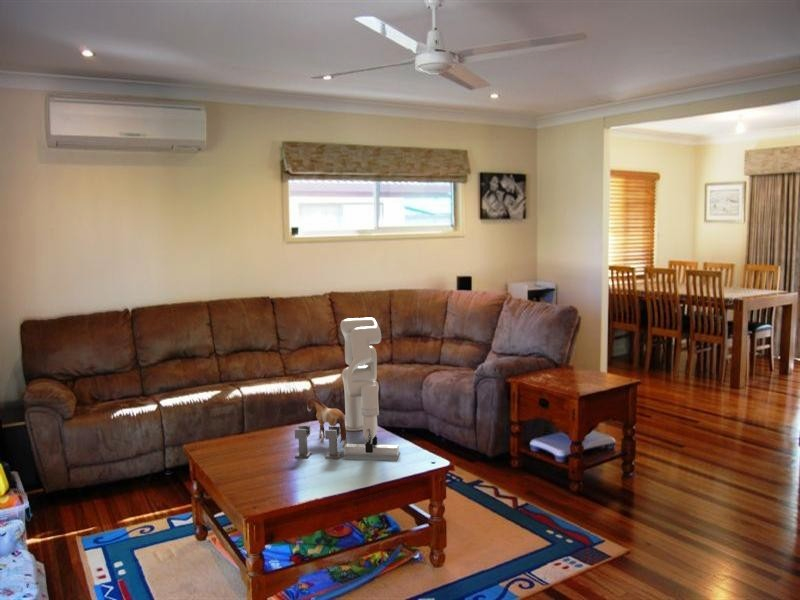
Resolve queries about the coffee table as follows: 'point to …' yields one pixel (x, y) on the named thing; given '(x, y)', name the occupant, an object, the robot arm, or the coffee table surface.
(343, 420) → the horse figurine
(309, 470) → the coffee table surface
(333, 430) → the post
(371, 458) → the mat
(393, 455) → the rail
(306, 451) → the post
